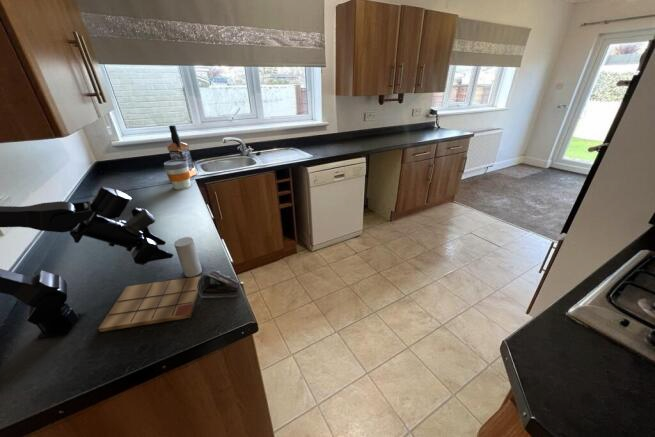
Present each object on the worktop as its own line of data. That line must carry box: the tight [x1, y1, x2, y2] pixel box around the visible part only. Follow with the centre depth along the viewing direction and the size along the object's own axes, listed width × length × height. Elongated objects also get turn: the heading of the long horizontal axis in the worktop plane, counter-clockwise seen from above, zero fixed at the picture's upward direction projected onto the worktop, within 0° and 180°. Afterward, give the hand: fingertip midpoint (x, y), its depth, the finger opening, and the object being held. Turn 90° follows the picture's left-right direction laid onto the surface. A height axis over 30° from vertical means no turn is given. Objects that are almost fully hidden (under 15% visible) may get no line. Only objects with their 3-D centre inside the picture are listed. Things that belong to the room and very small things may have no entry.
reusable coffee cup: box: [163, 159, 192, 190], centre depth 157 cm, size 13×12×15 cm
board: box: [97, 275, 201, 333], centre depth 77 cm, size 22×16×1 cm
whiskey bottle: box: [166, 124, 198, 178], centre depth 171 cm, size 10×10×32 cm
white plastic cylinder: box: [173, 236, 203, 278], centre depth 87 cm, size 5×5×12 cm
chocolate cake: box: [197, 269, 240, 299], centre depth 81 cm, size 10×7×12 cm
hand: (168, 249), depth 82 cm, fingers open, 9 cm apart
